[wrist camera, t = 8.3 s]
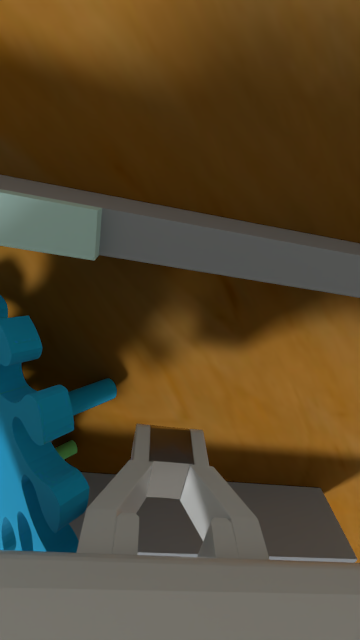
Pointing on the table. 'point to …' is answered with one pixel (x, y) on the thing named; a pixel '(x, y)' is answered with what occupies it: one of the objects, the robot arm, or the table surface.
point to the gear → (38, 447)
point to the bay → (205, 256)
